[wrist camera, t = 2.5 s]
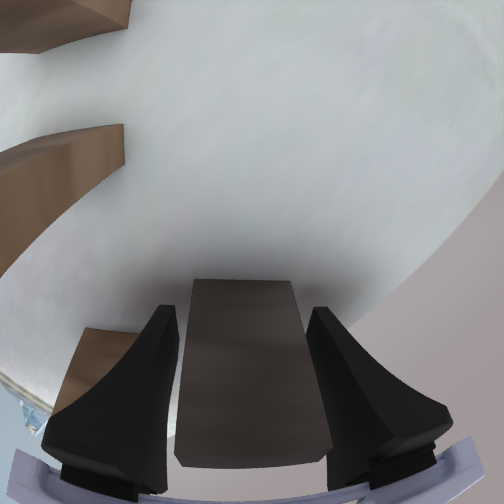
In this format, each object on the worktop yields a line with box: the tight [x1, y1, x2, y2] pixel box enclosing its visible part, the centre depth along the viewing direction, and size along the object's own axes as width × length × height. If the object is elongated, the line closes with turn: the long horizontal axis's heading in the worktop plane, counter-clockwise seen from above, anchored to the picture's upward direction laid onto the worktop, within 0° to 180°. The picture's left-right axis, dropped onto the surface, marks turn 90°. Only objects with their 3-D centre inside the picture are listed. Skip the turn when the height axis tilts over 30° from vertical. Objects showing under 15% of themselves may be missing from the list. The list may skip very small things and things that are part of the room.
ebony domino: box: [174, 279, 333, 469], centre depth 10 cm, size 4×2×8 cm, turn 86°
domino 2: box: [0, 124, 125, 278], centre depth 6 cm, size 4×2×8 cm, turn 86°
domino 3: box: [51, 328, 139, 416], centre depth 11 cm, size 4×2×8 cm, turn 86°
